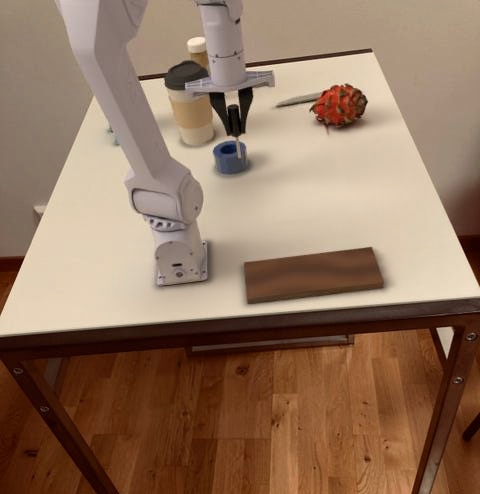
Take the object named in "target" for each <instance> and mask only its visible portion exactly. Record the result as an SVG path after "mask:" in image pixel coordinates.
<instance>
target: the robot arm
mask: <svg viewBox="0 0 480 494" xmlns="http://www.w3.org/2000/svg"><path fill="white" fill-rule="evenodd" d="M53 1H54V3H55V5H56V7H57V10H58V11H59V13H60V15H61V17H62V19H63V21H64V26H65V29H66V32H67V36H68V41H69V44H70V48H71V51H72V54H73V56H74V58H75V60H76V62H77V65H78V66H79V69H80V70H81V73H82V74H83V76H84V78H85V80H86V82H87V83H88V86H89V88H90V89H91V92H92V95H93V96H94V98H95V99H96V101H97V103H98V105H99V107H100V109H101V111H102V113H103V115H104V117H105V119H106V121H107V123H108V126H109V125H110V127H111V129H112V131H111V132H113V134H115V135H114V137H115V136H116V138H117V140H118V142H119V144H118V145H119V146H120V148H121V150H122V152H123V154H124V156H125V158H126V160H127V162H128V164H129V166H130V168H129V169H128V171H127V172H126V174H125V177H124V181H123V184H124V186H125V187H126V190H127V194H128V201H129V204H130V207H131V208H132V211H134V212H135V213H136V214H139V215H141V216H142V219H143V222H146V223H148V226H149V229H150V232H151V234H152V238H153V242H154V259H155V261H156V264H157V277H156V278H157V279H156V284H157V285H158V286H159V287H161V286H168V285H176V284H177V285H178V284H184V283H192V282H200V281H201V282H202V281H206V280H207V279H208V241H207V239H204V240H203V239H202V237H201V233H200V229H199V224H198V220H197V219H198V218H199V216H200V214H201V212H202V210H203V207H204V202H205V201H204V196H205V195H204V190H203V188H202V185H201V183H200V182H199V180H197V179H195V177H194V175H193V174H192V173H193V172H192V171H191V169H190V168H188V167H187V166H186V165H184V164H183V163H181V162H180V161H178V160H177V159H175V158H174V157H173V156H172V155H171V154H170V151H169V149H168V146H167V144H166V141H165V139H164V137H163V135H162V132H161V129H160V127H159V125H158V122H157V120H156V118H155V114H154V113H153V110H152V108H151V105H150V103H149V100H148V98H147V96H146V94H145V91H144V87H143V86H142V84H141V81H140V79H139V76H138V74H137V72H136V69H135V67H134V65H133V63H132V60H131V58H130V55H129V53H128V50H127V45H128V43H130V42H131V41H132V40H133V39H135V38H136V37H137V36H138V33H139V30H140V27H141V25H142V21H143V19H144V15H145V12H146V9H147V7H148V4H149V1H150V0H53ZM189 1H191V2H192V4H193V5H194V7H196V8H197V7H199V9H200V17H201V21H202V29H203V33H204V38H205V41H206V47H207V54H208V60H209V66H210V73H211V76H210V77H207V78H204V79H200V80H197V81H193V82H188V83H185V89H186V94H187V99H193V98H194V97H196V96H203V95H209V98H210V104H211V106H212V110H214V111H215V113H216V114H217V117H219V119H220V120H221V123H222V126H223V128H224V130H225V133H226V136H227V137H232V136H231V130H230V125H229V118H228V111H227V100H226V94H225V93H230V92H231V93H233V92H237V97H238V106H239V113H240V120H241V131H242V135H245V134H247V131H246V130H247V120H248V116H249V113H250V109H251V106H252V103H253V100H254V89H257V88H265V87H268V89H269V88H275V87H276V79H275V78H276V77H275V73H274V70H273V69H272V70H247V67H246V58H245V49H244V48H245V47H244V39H243V29H242V21H241V17H242V16H243V13H244V12H243V11H244V7H243V6H244V5H243V3H244V2H243V0H189Z"/></svg>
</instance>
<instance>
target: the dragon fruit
mask: <svg viewBox="0 0 480 494" xmlns="http://www.w3.org/2000/svg"><path fill="white" fill-rule="evenodd" d="M353 88H355V89H353ZM322 92H323V93H322V95H321V97H320V98H319V99H316V101H315V102H314V103H313V104H312V105H311V107H310V108H309V110H308V112H309V114H311V113H313V114H314V115H316V116H315V118H314V119H315V121H317V122H319V123H320V124H325V125H328V124H335V126H334V127H335V128H336V129H339V128H341V127H343V126H344V124H345V125H351V124H352V122H353V121H354V120H360V119H362V116H363V115H364V114H365V111H366V109H367V105H368V103H369V99H367V96H366V95H365V94H364V93H363V92H362V90H361V89H358V88H357V87H354V86H353V85H351V84H349V83H348V82H347V83H344V84H341V85H339V84H333V85H331V86H330V87H329V89H324V90H323V91H322Z"/></svg>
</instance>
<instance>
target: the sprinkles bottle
mask: <svg viewBox="0 0 480 494" xmlns="http://www.w3.org/2000/svg"><path fill="white" fill-rule="evenodd" d="M186 45H187V50H188V52H189V57H190V60H193V61H195V62H196V63H198V64H200V65H201V66H202V67H203V68H205V69H207V71H208V75H209V77H210V76H211V73H210V66H209V60H208V54H207V47H206V41H205V36H204V37H203V36H197V37H192V38H190V39H188V41H187V42H186Z"/></svg>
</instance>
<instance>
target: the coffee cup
mask: <svg viewBox="0 0 480 494" xmlns="http://www.w3.org/2000/svg"><path fill="white" fill-rule="evenodd" d="M207 77H209V75H208V71H207V69H205V68H203V67H202V66H201V65H200V64H198V63H196V62H195V61H193V60H191V59H188V60H187V59H186V60H183V61H182V62H180V63H178V64H175V65H173V66H171V67H169V68H168V70H167V73H166V74H165V75H164V78H163V80H164V87H165V88H166V91H167V94H168V100H169V103H170V105H171V110H172V114H173V116H174V120H175V122H176V125H177V127H178V130H179V134H180V137H181V140H182V142H183V143H185V144H187V145H200V144H204V143H207V142H209V141H210V140H212V139H213V137H214V135H215V134H214V133H215V132H214V124H213V122H214V121H213V119H214V116H213V107H212V106H211V104H210V98H209V95H203V96H196V97H194V98H193V99H187V94H186V89H185V83H188V82H193V81H197V80H200V79H204V78H207Z"/></svg>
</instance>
